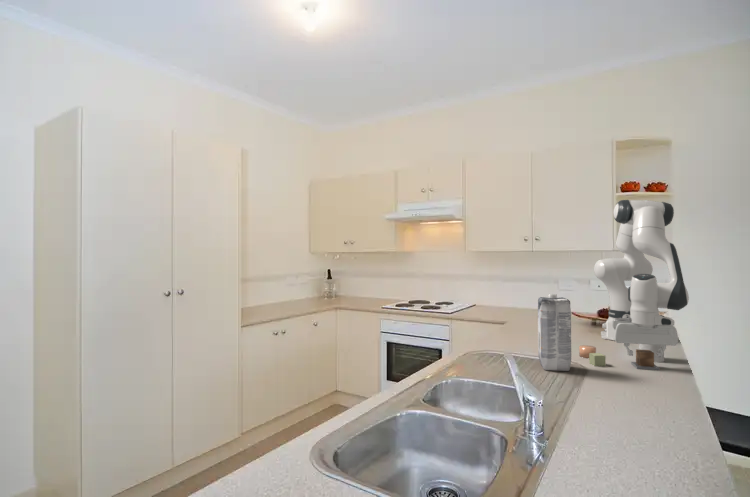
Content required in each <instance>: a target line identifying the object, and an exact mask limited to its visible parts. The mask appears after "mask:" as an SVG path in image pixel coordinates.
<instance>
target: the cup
mask: <svg viewBox="0 0 750 497" xmlns="http://www.w3.org/2000/svg"><path fill="white" fill-rule="evenodd" d="M638 349H639V350H650V351H652V352H653V353H654V363H663V362H665V351H664V352H663V357H657V356H656V354H657V353H656V351H659V350H660V349H661V347H660V345H650V344H638Z"/></svg>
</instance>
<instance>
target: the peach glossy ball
mask: <svg viewBox="0 0 750 497" xmlns="http://www.w3.org/2000/svg"><path fill="white" fill-rule="evenodd" d="M578 350H579V352H578V353H579V357H580V358H582V357H583V359H588V358H589V353H597V347H596V346H593V345H584V344H583V345H579V347H578Z"/></svg>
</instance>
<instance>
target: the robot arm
mask: <svg viewBox="0 0 750 497" xmlns="http://www.w3.org/2000/svg"><path fill="white" fill-rule="evenodd" d="M674 215H675V210H674V206H673V205H672V204H671V203H670V202H664V201H654V200H647V199H645V200H643V199H642V200H641V199H639V200H638V199H631V200H629V199H622V200H618V202H616V204H615V206H614V208H613V218H614V221H616V223H619V224H620V225H619V229H618V231H617V232H618V233H617V236H616V240H615V247H616V249H617V250H618V251H619V252H621V253H623V254H624V255H623V257H608V258H607V257H606V258H602V259H599V260H597V261H596V262H595V264H594V266H593V273H594V275H595V277H596V278H597V279H598V280H600V281H601V282H602V283H603V284H604V285H605V287H606V289H607V291H608V295H609V296H608V297H609V309H608V318H607V320H606V322H604V323H602V324H601V325H602V326H601V327H602V329H604V330H603V331H602V330H601V331H600V336H601V339H603V340H604V339H605V340H610V341H614V342H616V343H617V344H623V346H624V347H625V350H626V352H627V355H628V357H630V356H631V357H633V356H634V350H632V349H630V347H631V344H632V345H635V344H636V345H639V344H650V345H660V347H661V349H660V350H659V351H656V353H657V354H656V356H657V357H663V352H664V353H665V350H667V346H673V347H674V346H677V345H678V343H679V337H678V332H677V328H676V327H675V326H674V325H675V320H674V319H672V318H670V317H667V316H664V315H662V314H660V313H659V311H660V310H659V309H667V310H673V311H680V310H682V309H684V308H685V307H687V305H688V303H689V299H690V297H689V292H688V290H687V287H686V285H685V281H684V277H683V272H682V268H681V262H680V259H679V255H678V252H677V249H676V246H675V244H674V243H672V242H670V241H669V240H668V239H667V237H666V227H667V226H668V225H670V224H671V223H672V220H674V219H673V218H674ZM645 255H648V256H650V257H655V258H657V259H659V260H661V261H663V262H664V263H666V265H667V269H668V270H667V271H668V274H669V279H670V281H669V282H657V277H656V276H655V275H653V272H654V271H653V265H652V263H651V262H650V261H649V259H647V258H646V257H645ZM628 281H629V282H630V286H629V287H627V286H626V284H625V282H628Z"/></svg>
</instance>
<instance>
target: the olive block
mask: <svg viewBox="0 0 750 497" xmlns="http://www.w3.org/2000/svg"><path fill="white" fill-rule="evenodd" d="M588 362H589V364H590V365H591V364H592V365H591V366H593V365H594V367H606V355H605V354H602V353H600V352H596V353H589V361H588Z"/></svg>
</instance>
